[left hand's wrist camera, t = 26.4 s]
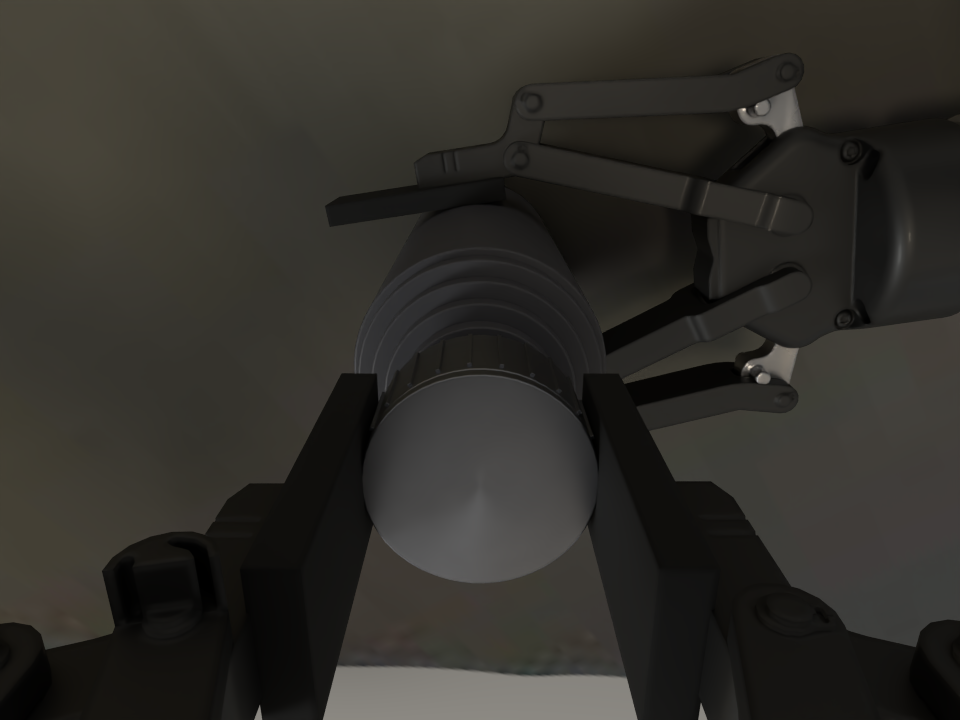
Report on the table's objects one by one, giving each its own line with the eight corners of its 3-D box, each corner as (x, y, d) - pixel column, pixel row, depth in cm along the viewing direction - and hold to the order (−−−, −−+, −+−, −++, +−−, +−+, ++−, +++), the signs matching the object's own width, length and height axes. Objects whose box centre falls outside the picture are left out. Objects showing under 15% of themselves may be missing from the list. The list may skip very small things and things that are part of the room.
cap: (544, 541, 16) (554, 609, 14) (354, 490, 15) (333, 552, 13) (615, 367, 14) (639, 413, 12) (407, 304, 14) (393, 340, 12)
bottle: (460, 344, 34) (434, 649, 15) (383, 232, 32) (238, 418, 13) (574, 274, 33) (709, 508, 14) (502, 153, 31) (538, 227, 12)
